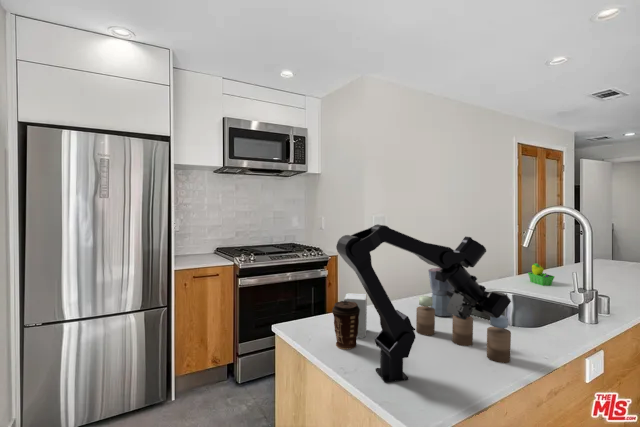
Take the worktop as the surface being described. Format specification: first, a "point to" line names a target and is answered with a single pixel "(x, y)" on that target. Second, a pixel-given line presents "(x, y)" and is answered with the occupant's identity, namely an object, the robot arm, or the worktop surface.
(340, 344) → the coffee cup
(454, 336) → the button stands
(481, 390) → the worktop surface
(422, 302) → the sage button
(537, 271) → the fruit basket
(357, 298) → the supplement box
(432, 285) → the moka pot
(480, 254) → the robot arm
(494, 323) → the slate-blue button
